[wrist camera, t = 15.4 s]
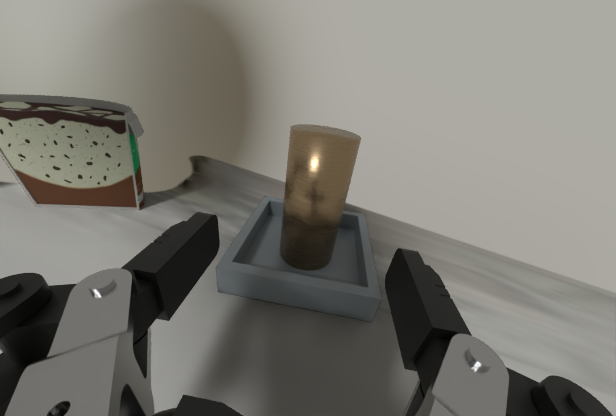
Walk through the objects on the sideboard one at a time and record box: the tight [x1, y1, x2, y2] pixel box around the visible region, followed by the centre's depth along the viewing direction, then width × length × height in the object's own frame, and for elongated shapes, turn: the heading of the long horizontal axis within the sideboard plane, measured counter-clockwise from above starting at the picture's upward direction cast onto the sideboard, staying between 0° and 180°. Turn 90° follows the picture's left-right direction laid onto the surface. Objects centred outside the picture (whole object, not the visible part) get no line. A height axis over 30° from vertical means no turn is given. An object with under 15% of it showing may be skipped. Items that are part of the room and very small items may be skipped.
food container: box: [0, 94, 144, 210], centre depth 24 cm, size 12×6×10 cm, turn 99°
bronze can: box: [280, 125, 361, 271], centre depth 18 cm, size 5×5×11 cm
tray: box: [216, 196, 382, 322], centre depth 21 cm, size 12×12×2 cm
